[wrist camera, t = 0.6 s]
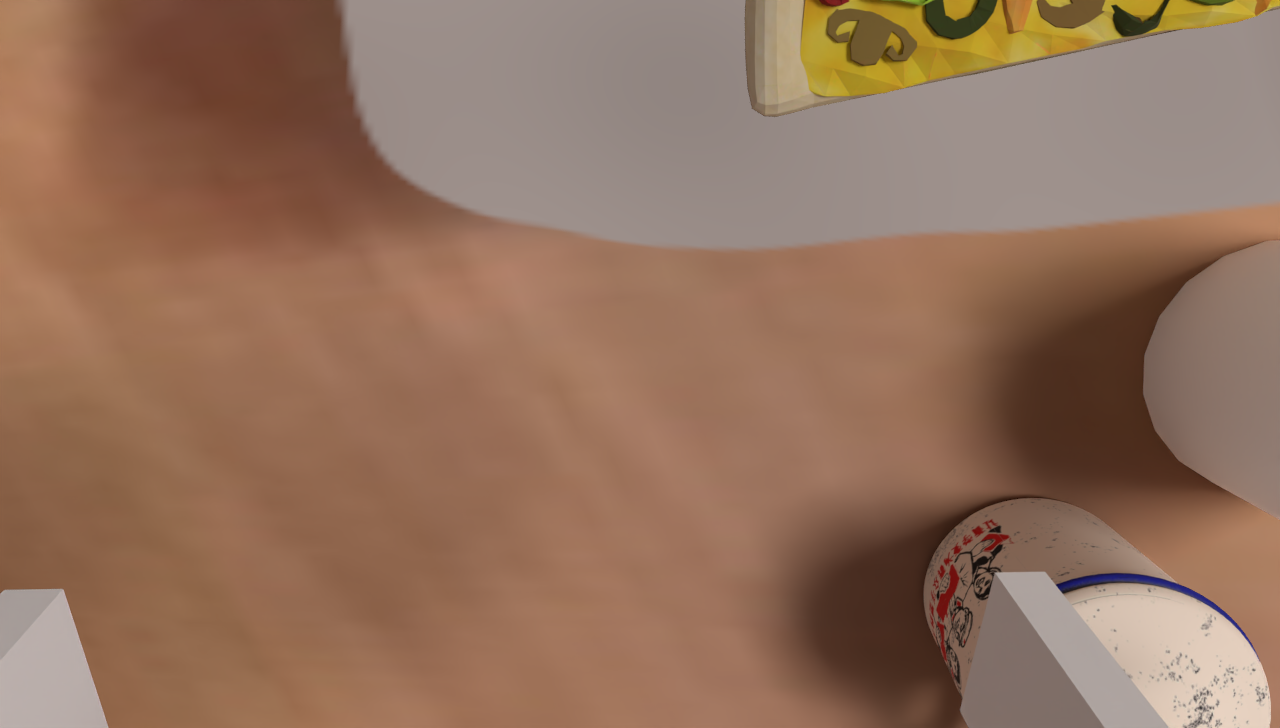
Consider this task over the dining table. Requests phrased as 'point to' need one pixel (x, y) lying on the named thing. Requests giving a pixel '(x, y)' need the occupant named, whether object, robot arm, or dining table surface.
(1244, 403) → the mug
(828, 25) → the pizza slice
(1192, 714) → the teacup with lid
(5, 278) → the dining table surface
